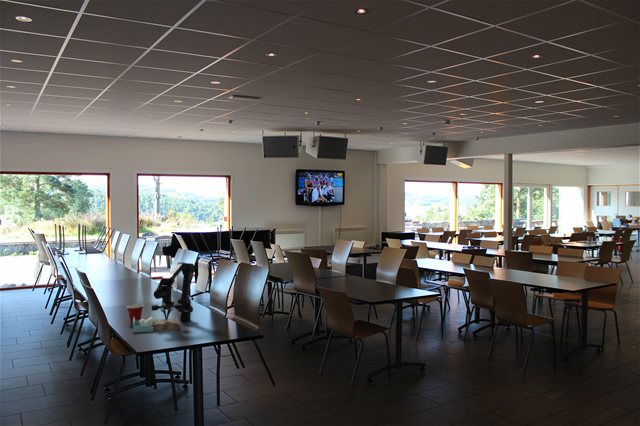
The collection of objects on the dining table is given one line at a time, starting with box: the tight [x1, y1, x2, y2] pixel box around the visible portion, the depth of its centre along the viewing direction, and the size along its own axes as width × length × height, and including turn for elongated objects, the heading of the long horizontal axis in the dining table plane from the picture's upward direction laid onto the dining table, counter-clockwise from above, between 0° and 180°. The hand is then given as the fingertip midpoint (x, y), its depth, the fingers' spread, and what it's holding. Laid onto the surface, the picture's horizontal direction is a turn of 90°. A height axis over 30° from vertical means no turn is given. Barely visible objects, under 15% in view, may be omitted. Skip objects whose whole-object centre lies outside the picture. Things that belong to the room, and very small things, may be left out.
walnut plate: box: [153, 317, 180, 332], centre depth 344 cm, size 16×16×4 cm
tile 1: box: [139, 318, 146, 326], centre depth 339 cm, size 5×5×3 cm
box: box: [132, 317, 154, 334], centre depth 339 cm, size 12×18×6 cm, turn 19°
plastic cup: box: [126, 303, 145, 325], centre depth 355 cm, size 11×11×12 cm
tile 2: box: [145, 316, 155, 325], centre depth 340 cm, size 5×5×3 cm
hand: (166, 320), depth 344 cm, fingers closed
